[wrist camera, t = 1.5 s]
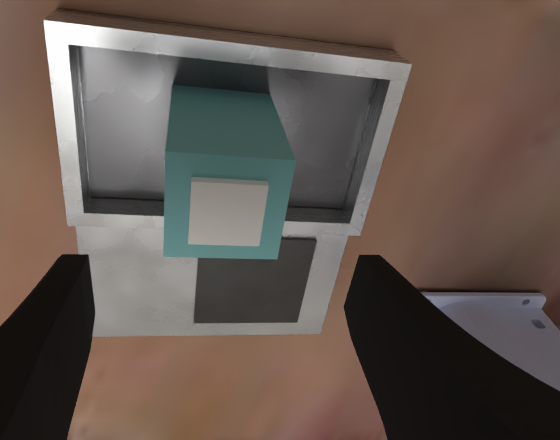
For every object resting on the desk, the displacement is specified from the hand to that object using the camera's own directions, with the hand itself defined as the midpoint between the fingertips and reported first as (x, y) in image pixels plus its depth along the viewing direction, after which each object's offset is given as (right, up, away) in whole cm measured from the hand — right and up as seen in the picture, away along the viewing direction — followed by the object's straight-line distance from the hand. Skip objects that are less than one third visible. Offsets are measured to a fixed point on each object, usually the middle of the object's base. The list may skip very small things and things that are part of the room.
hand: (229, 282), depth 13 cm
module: (-1, +5, +8) cm, 9 cm away
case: (-1, +6, +8) cm, 10 cm away
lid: (-2, -1, +13) cm, 13 cm away
